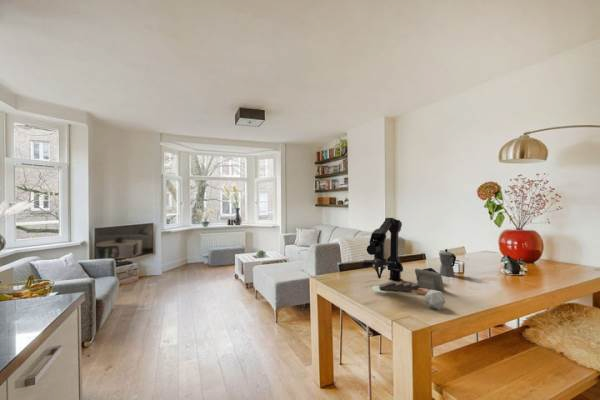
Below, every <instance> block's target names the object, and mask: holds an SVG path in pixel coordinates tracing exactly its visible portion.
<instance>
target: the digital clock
mask: <svg viewBox="0 0 600 400" xmlns="http://www.w3.org/2000/svg"><path fill="white" fill-rule="evenodd" d="M414 272H415V277H416V281H417V282H418V284H419V287H420V288H424V289H428V290H430V289H431V290H436V291H441V292H443V291H444V290H445V287H444V282H443V276H442V275H441V274H440V272H438V273H436V272H437V271H436V272H431V271H426V270H422V269H421V268H415V269H414ZM417 282H416V283H417Z"/></svg>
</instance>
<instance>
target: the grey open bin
mask: <svg viewBox="0 0 600 400" xmlns="http://www.w3.org/2000/svg"><path fill="white" fill-rule="evenodd" d="M421 270H426V271H431V272H436V273H439V272H438V271H436V270H435V269H434V268H432V267H428V268H423V269H421Z"/></svg>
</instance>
